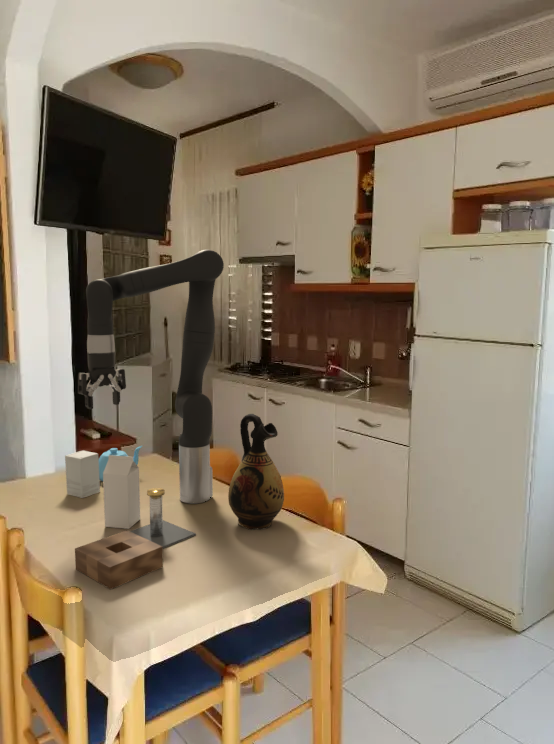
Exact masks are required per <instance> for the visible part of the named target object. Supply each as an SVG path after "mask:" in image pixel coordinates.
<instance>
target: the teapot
mask: <svg viewBox="0 0 554 744" xmlns="http://www.w3.org/2000/svg"><path fill="white" fill-rule="evenodd" d="M142 447H143V445H139V446H138V447H136V448H135V449H134V453H133V456H132V457H133V461H134V462H135V463H136V465H137V466H138V464H139V460H140V459H139V452H140V450H141V449H142ZM109 455H113V456H129V455H128V454H127V453H126V451H124V450H118V448H117V447H112V448H109V449H108V450H106V451H104V452H103V453H102V454H101V455H100V456H99V457H98V459H99V481H100V482H102V483H103V472H104V470H105V467H106V465H107V462H108V460H109Z"/></svg>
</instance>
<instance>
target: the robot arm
mask: <svg viewBox="0 0 554 744" xmlns="http://www.w3.org/2000/svg"><path fill="white" fill-rule="evenodd" d="M224 264H225V263H224V260H223V258H222V256H221V255H220V254H219V253H218V252H216V251H214V249H213V250H212V249H202V250H199V251H197V252H195V253H194V254H193V255H191V256H190V255H189V256H188V257H187V258H183V259H180V260H177V261H173V262H170V263H166V264H160V265H154V266H149V267H144V268H139V269H136V270H132V271H130V270H129V271H128V272H123V273H121V274H119V275H113V276H110V277H104V278H99V279H95V280H94V279H93V280H91V281H90V282H89V283H88V284H87V286H86V289H85V294H86V295H85V296H86V306H87V307H86V309H87V321H86V323H87V326H86V327H87V328H86V329H87V338H86V339H87V340H86V349H87V350H86V351H87V354H86V355H87V367H88V372H86V373H85V372H78V374H77V394H79V395H82V396H84V404H85V408H86V409H88V410H93V409H94V396H93V394H94V392H95V391H96V390H97V389H98V387H100V388H101V387H104V386H106V387H107V386H109V387H110V388H111V390H112V405H114V406H117V405H120V402H121V391H123V390H125V389H126V388H127V380H126V371H125V369H124V368H118V367H117V368H116V369H115V366H116V343H115V342H116V341H115V335H114V320H113V301H117V300H121V299H123V298H133V297H138V296H141V295H145V294H149V293H152V292H156V291H160V290H161V289H166V288H168V287H172V286H175V285H180V284H185V283H188V301H187V306H186V312H185V318H184V325H183V326H184V327H183V334H182V348H181V349H182V350H181V358H180V359H181V362H180V375H179V381H178V386H177V391H176V395H175V396H176V397H175V400H174V401H175V402H174V403H175V404H174V407H175V411H176V413H177V415H178V416H179V417H180V418H181V419H182V433H181V434H179V436H178V458H179V459H178V463H179V464H178V468H179V500H180V501H181V502H183V503H185V504H201V503H205V501H206V502H207V501H210V499H211V498H212V496H213V494H214V493H213V489H214V488H213V467H212V466H211V457H210V454H211V451H210V449H211V448H210V446H211V445H210V443H211V442H210V441H211V440H210V438H211V437H212V433H213V405H212V402H211V399H210V398H209V397H208V396H207V395H205V394H204V393H203V382H204V381H203V380H204V374H205V371H206V368H207V366H208V363H209V360H210V358H211V356H212V353H213V350H214V345H215V342H214V341H215V332H216V322H215V312H214V301H213V298H214V290H215V286H216V285H215V284H216V279H218V278H219V277H220V276H221V275H222V273H223V271H224V266H225V265H224ZM115 377H116V379H117V380H115ZM88 380H89V382H87V381H88ZM210 497H211V498H210Z"/></svg>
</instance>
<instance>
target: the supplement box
mask: <svg viewBox="0 0 554 744" xmlns="http://www.w3.org/2000/svg"><path fill="white" fill-rule="evenodd" d="M64 460H65V479H66V480H65V481H66V494H67V495H68V496H69V495H70V496H72V497H77V498H81V499H84V498H86V497H89V496H92V495H95V494H98V493H100V492H101V485H100V483H101V481H100V480H99V453H97V452H94V451H93V452H91V451H88V450H79V451H76V452H73V453H70V454H67V455H64Z"/></svg>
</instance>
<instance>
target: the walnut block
mask: <svg viewBox="0 0 554 744" xmlns="http://www.w3.org/2000/svg"><path fill="white" fill-rule="evenodd" d="M130 531H131V530H127V529H125V530H123V531H120V532H118V533H115V534H113V535H110V536H106V537H104V538H103V537H102V538H100V539H98V540H95V541H92V542H89V543H87V544H83V545H81V546H77V547H75V548H74V558H75V559H74V560H75V570H77V571H78V572H80V573H81V572H82V574H83V575H85V576H87V577H88V576H89V578H90V579H92V580H93V579H94V580H93V581H95V582H97V583H99V584H100V585H102V586H104V587H106V588H107V589H109V590H113V589H115V588H117V587H119V586H122V585H124V584H126V583H129V582H131V581H134V580H136V579H138V578H140V577H142V576H146V575H147V574H149V573H152V572H154V571H157V570H160V569H162V568H163V567H164V558H163V557H164V556H163V555H164V554H163V553H164V550H163V549H164V548H163V547H162V546H160V545H158V544H156V543H154V542H152V541H149V540H147V539H145V538H143V537H141V536H138V535H136V534H134V533H132V532H130Z"/></svg>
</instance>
